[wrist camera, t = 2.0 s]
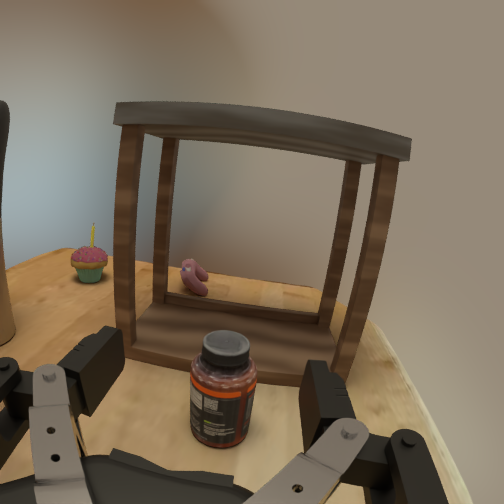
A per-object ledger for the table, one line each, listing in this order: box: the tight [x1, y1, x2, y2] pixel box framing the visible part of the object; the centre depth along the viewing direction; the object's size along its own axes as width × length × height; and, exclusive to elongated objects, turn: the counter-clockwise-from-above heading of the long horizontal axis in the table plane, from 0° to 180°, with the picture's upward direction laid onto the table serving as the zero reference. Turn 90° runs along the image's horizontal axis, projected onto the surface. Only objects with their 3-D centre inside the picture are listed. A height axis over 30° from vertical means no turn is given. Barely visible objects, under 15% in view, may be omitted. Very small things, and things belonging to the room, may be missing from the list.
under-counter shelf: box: [113, 101, 412, 387], centre depth 40 cm, size 17×32×32 cm, turn 87°
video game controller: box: [180, 259, 208, 296], centre depth 63 cm, size 10×5×7 cm, turn 7°
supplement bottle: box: [190, 330, 257, 448], centre depth 26 cm, size 6×6×11 cm
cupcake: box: [71, 223, 108, 283], centre depth 57 cm, size 9×8×12 cm
